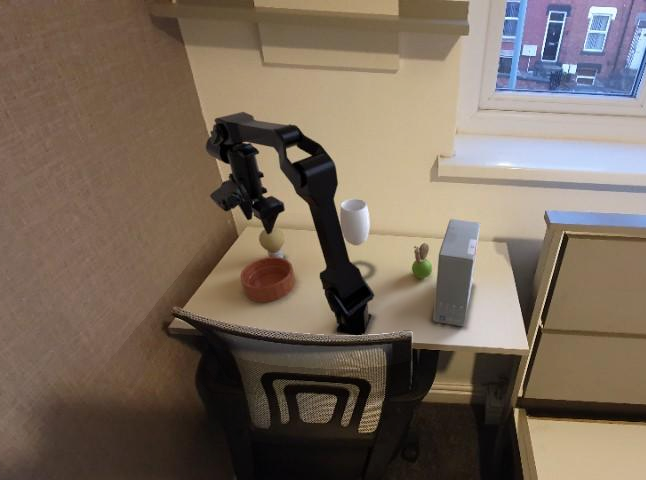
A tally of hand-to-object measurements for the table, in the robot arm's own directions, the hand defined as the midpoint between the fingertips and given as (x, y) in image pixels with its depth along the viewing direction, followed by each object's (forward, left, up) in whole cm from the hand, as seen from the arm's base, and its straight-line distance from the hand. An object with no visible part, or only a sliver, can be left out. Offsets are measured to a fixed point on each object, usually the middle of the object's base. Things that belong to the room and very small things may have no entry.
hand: (259, 226), depth 100 cm
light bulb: (0, -4, -14) cm, 14 cm away
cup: (-24, -4, -14) cm, 28 cm away
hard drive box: (-51, +3, -14) cm, 53 cm away
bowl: (-4, +7, -14) cm, 16 cm away
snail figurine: (-41, -5, -14) cm, 43 cm away
